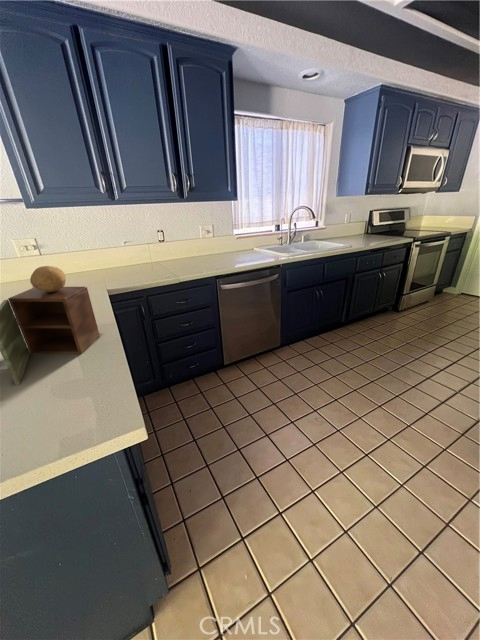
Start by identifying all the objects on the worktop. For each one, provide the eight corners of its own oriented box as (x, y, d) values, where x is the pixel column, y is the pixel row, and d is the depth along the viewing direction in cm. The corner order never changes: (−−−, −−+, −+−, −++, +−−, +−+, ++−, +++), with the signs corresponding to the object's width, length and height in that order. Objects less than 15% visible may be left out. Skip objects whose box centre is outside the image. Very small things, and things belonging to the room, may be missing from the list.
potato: (64, 283, 95) (58, 261, 92) (73, 292, 86) (66, 268, 82) (31, 289, 89) (23, 265, 86) (37, 299, 80) (28, 274, 76)
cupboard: (81, 354, 89) (65, 298, 81) (30, 353, 90) (7, 298, 81) (100, 337, 100) (86, 286, 91) (53, 336, 101) (36, 286, 92)
